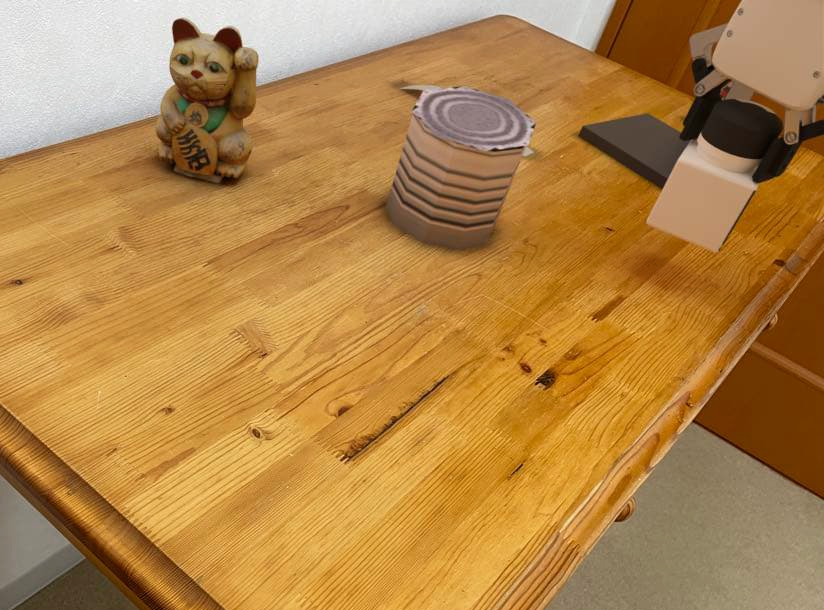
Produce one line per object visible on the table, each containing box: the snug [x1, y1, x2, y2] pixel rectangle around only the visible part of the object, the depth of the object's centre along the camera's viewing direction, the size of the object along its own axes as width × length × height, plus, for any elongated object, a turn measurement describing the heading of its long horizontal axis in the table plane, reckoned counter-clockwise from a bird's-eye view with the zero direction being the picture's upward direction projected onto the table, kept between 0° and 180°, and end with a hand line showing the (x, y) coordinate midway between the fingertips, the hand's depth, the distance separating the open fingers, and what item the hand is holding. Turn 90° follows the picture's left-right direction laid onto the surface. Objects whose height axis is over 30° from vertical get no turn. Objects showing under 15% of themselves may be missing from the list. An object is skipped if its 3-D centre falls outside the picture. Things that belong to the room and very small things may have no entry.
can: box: [385, 85, 537, 251], centre depth 83 cm, size 11×11×12 cm
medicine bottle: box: [645, 99, 784, 254], centre depth 79 cm, size 7×7×12 cm
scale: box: [577, 112, 691, 190], centre depth 107 cm, size 16×14×4 cm
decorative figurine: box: [155, 17, 260, 184], centre depth 82 cm, size 10×8×15 cm
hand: (726, 156), depth 78 cm, fingers closed on medicine bottle, 7 cm apart
